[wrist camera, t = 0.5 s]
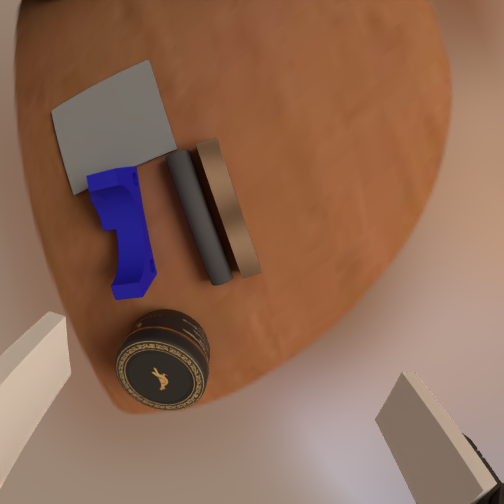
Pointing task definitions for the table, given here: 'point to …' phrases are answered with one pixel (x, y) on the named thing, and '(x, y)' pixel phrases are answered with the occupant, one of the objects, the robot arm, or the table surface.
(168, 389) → the jar
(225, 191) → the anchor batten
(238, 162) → the table surface
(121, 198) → the cable clip
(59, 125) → the mat
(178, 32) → the table surface
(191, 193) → the rod
